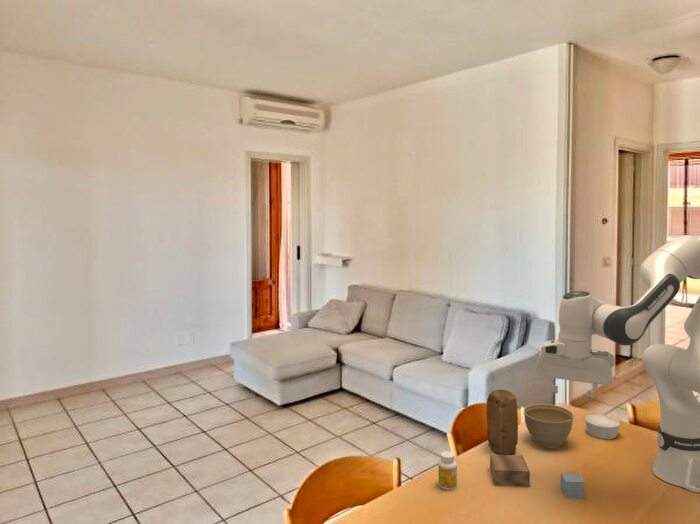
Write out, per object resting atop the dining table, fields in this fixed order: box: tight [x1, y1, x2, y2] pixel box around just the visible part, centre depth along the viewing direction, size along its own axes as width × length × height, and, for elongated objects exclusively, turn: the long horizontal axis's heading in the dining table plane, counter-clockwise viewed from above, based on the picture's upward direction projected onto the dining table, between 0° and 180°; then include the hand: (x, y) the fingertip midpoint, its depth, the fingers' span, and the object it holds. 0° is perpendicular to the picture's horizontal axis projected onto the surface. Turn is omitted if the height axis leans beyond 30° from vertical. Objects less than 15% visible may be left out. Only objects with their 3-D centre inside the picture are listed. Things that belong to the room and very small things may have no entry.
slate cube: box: [559, 472, 585, 500], centre depth 147 cm, size 5×5×5 cm
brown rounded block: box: [485, 389, 519, 455], centre depth 175 cm, size 11×8×20 cm
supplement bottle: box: [437, 450, 458, 491], centre depth 153 cm, size 5×5×10 cm
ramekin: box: [584, 414, 621, 440], centre depth 185 cm, size 11×11×5 cm
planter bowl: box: [523, 403, 575, 449], centre depth 179 cm, size 16×16×11 cm
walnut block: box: [489, 454, 531, 488], centre depth 157 cm, size 10×10×5 cm
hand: (572, 395), depth 148 cm, fingers open, 8 cm apart
